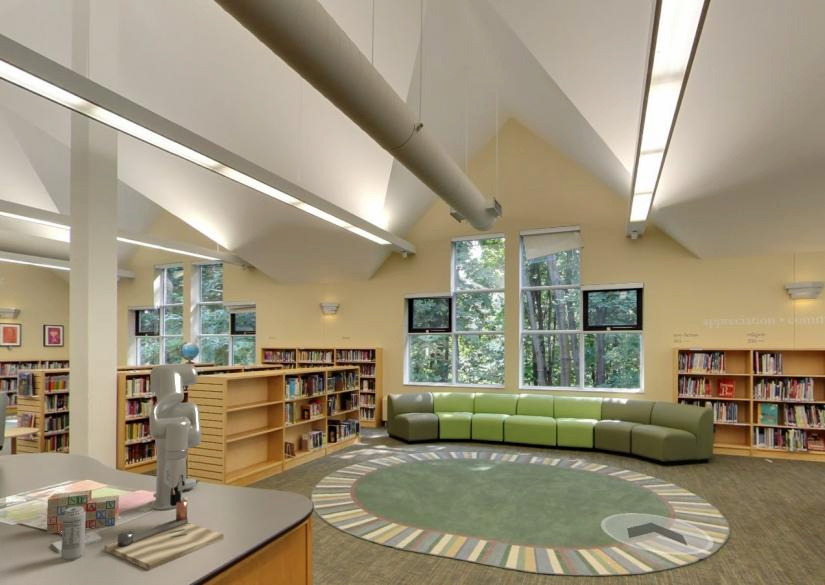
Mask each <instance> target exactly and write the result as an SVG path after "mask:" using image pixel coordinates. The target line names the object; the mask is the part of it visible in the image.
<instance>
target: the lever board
mask: <svg viewBox="0 0 825 585" xmlns="http://www.w3.org/2000/svg"><path fill="white" fill-rule="evenodd" d="M224 538H225V536H224V534H223V533H221V532H218V531H215V530H212V529H209V528H205V527H203V526H200V525H196V524H193V523H190V522H188V523H185V524H183V525H180V526H177V527H174V528H171V529H169V530H166V531H163V532H160V533H158V534H155V535H152V536H149V537H147V538H144V539H141V540H138V541H136V542H133V543H132V544H130V545H127V546H118V545H117V544H118V540H116V541H113V542H109V543H108V544H104V548H103V549H104V551H105V552H107V553H109V554H113V555H114V554H115V556H117V557H119V556H120V557H119V558H121V557H123V558H125V559H124V560H126V559H127V560H126V561H128V560H130V561H132V562H135V563H137V564H139V565H141V566H140V567H142V566H143V567H142V568H144V567H145V568H144V569H146V568H147V569H146V570H148V569H149V571H150V569H151V570H152V569H153V570H154V569H155V568H158V567H160V566H162V565H163V566H164V565H165V564H168V563H170V562H171V561H175V560H177V559H179V558H181V557H184V556H186V555H189V554H192V553H193V552H196V551H198V550H201V549H203V548H205V547H209V545H210V546H211V545H212V544H215V543H217V542H219V541H222V540H224ZM123 558H122V559H123ZM130 561H129V562H130ZM132 562H131V563H132ZM135 563H134V564H135ZM137 564H136V565H137ZM139 565H138V566H139Z"/></svg>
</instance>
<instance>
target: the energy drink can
mask: <svg viewBox="0 0 825 585" xmlns="http://www.w3.org/2000/svg"><path fill="white" fill-rule="evenodd" d="M83 508H84V507H83V506H75V507H71V508H68V509H66V510H65V511H66V512H65V513H64V515H63V527H62V532H61V535H62V536H61V540H62V552H61V558H62V559H63V561H65V562H72V561H76V560H78V559H80V558H82V557H83V555H84V554H85V548H86V547H85V546H86V545H85V534H86V529H85V517H86V512H85V510H84V509H83Z"/></svg>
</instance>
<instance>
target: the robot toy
mask: <svg viewBox="0 0 825 585" xmlns="http://www.w3.org/2000/svg"><path fill="white" fill-rule="evenodd" d="M200 481H201V479H199V480H197V479H196V478H193V477H191V478H188V477H186V485H185V486H182V487H183V490H182V491H185V490H187V491H189V490H192V489H193V488H195V487H196V486H197V485H198V483H199V482H200Z"/></svg>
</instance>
